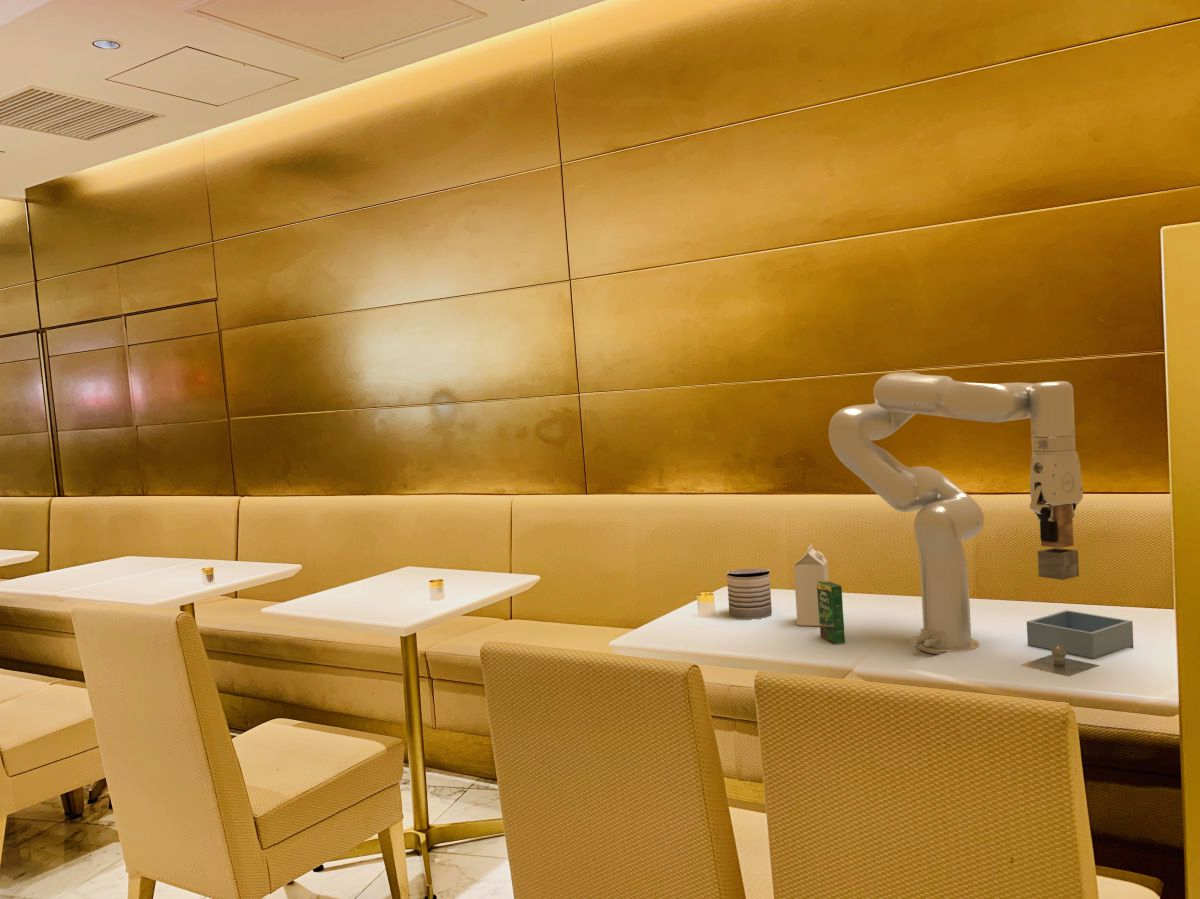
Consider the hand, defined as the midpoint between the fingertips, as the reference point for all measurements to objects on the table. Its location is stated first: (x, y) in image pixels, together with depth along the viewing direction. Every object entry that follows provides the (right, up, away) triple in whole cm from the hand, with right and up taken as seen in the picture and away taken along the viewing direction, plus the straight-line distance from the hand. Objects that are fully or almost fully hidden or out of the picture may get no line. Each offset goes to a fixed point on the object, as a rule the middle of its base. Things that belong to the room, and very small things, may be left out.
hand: (1056, 538), depth 175 cm
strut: (+1, -7, 0) cm, 7 cm away
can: (-49, -26, +61) cm, 82 cm away
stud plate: (0, -25, -1) cm, 25 cm away
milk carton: (-36, -26, +48) cm, 65 cm away
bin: (+10, -24, +11) cm, 28 cm away
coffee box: (-35, -26, +32) cm, 54 cm away
